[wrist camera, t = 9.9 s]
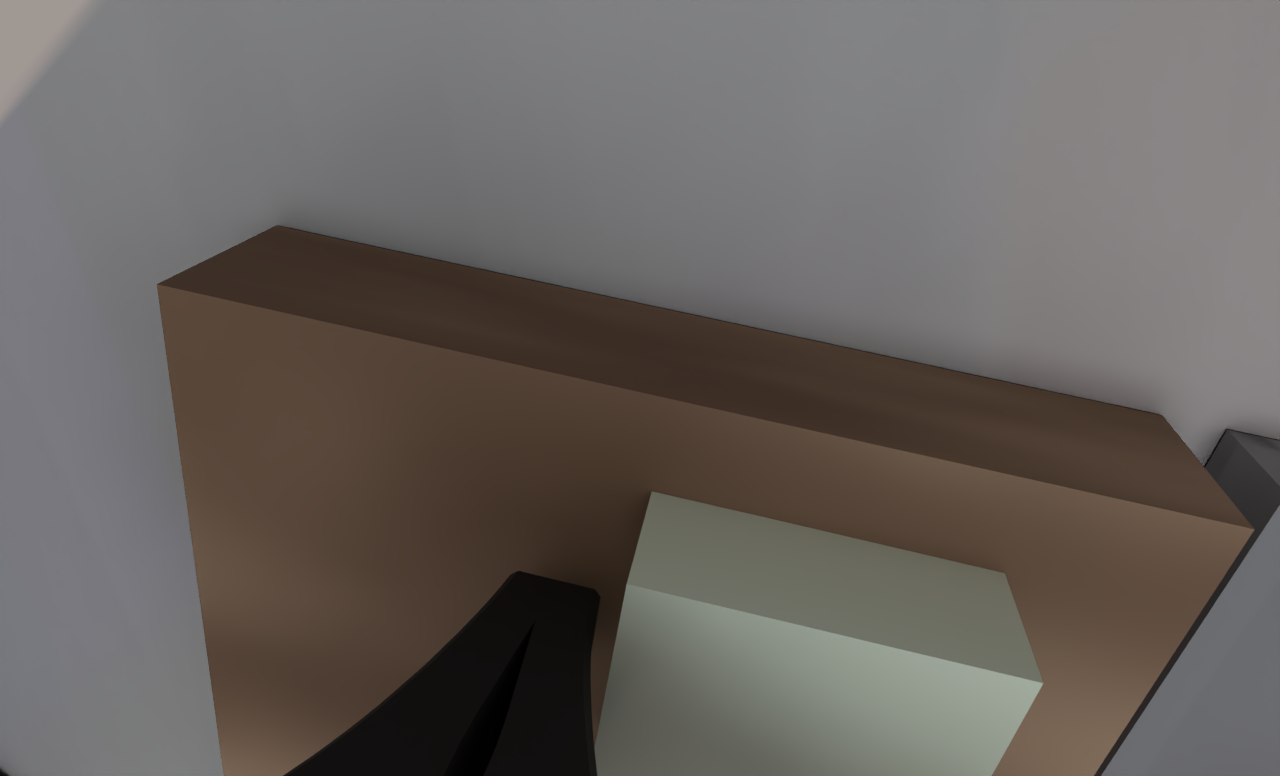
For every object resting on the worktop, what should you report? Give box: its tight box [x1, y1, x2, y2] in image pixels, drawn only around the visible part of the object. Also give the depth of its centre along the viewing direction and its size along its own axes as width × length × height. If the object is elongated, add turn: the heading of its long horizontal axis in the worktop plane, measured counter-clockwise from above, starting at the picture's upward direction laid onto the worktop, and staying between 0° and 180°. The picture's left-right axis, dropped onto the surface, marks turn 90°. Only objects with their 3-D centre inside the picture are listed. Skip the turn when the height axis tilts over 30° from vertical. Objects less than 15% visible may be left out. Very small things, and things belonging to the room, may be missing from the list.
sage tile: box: [595, 492, 1043, 776], centre depth 12 cm, size 5×5×2 cm
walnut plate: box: [157, 226, 1255, 776], centre depth 16 cm, size 16×15×3 cm
